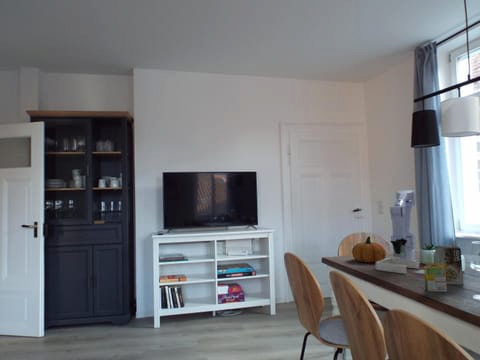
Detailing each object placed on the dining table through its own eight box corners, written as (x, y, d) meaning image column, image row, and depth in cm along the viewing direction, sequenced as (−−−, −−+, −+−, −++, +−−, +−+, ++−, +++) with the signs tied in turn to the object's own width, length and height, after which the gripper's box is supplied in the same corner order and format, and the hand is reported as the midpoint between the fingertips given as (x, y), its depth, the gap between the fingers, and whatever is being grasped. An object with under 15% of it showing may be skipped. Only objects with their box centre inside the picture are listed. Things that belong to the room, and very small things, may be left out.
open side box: (389, 264, 192) (389, 257, 192) (419, 268, 181) (418, 260, 181) (375, 269, 180) (375, 262, 181) (406, 273, 169) (405, 265, 169)
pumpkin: (346, 261, 206) (345, 237, 206) (361, 257, 218) (360, 234, 219) (377, 265, 191) (375, 239, 192) (391, 260, 204) (390, 236, 205)
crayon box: (444, 290, 138) (442, 261, 139) (447, 292, 135) (445, 263, 136) (425, 289, 140) (423, 261, 141) (427, 291, 137) (426, 263, 138)
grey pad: (421, 270, 176) (421, 269, 176) (440, 272, 169) (440, 272, 169) (414, 273, 170) (414, 272, 170) (433, 275, 163) (433, 275, 163)
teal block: (396, 255, 183) (396, 244, 183) (406, 256, 179) (405, 245, 180) (393, 256, 180) (392, 245, 181) (403, 257, 176) (402, 246, 177)
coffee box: (459, 281, 151) (457, 245, 152) (463, 285, 145) (461, 247, 146) (436, 280, 154) (434, 245, 155) (440, 283, 148) (437, 247, 149)
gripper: (396, 226, 188) (397, 250, 188) (384, 228, 179) (386, 254, 178) (409, 227, 183) (410, 252, 182) (398, 229, 173) (399, 255, 173)
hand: (399, 253), depth 180 cm, fingers closed on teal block, 4 cm apart
